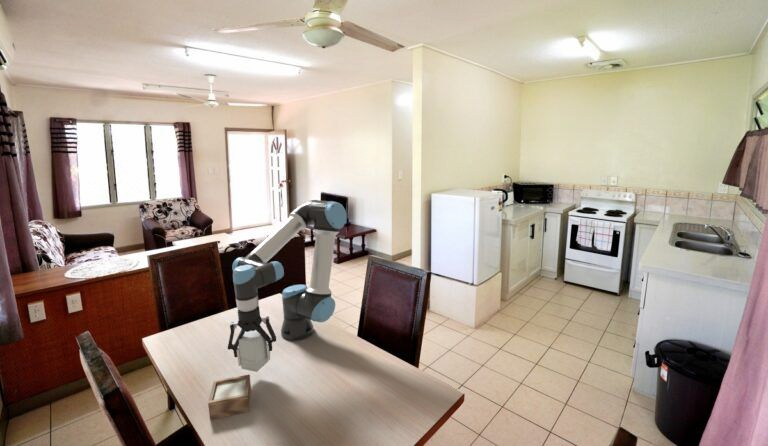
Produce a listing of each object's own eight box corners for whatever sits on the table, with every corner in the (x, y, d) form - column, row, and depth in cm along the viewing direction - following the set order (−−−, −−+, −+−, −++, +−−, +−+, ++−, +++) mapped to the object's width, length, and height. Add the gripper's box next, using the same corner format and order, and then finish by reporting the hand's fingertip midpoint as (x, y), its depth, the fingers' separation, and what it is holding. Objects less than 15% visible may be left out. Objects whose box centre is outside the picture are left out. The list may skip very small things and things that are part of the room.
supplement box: (269, 361, 140) (266, 331, 137) (256, 372, 133) (253, 342, 130) (253, 357, 142) (250, 329, 139) (240, 369, 135) (236, 338, 132)
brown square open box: (251, 389, 132) (249, 374, 131) (249, 411, 121) (247, 395, 120) (215, 396, 129) (213, 380, 127) (210, 419, 117) (207, 402, 116)
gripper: (279, 298, 139) (284, 350, 144) (216, 307, 132) (224, 361, 137) (280, 306, 132) (285, 360, 137) (213, 316, 125) (221, 372, 130)
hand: (254, 360), depth 137 cm, fingers closed on supplement box, 10 cm apart
